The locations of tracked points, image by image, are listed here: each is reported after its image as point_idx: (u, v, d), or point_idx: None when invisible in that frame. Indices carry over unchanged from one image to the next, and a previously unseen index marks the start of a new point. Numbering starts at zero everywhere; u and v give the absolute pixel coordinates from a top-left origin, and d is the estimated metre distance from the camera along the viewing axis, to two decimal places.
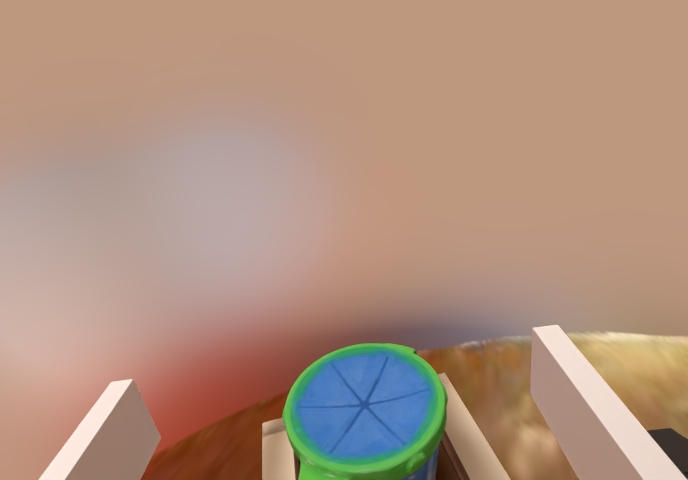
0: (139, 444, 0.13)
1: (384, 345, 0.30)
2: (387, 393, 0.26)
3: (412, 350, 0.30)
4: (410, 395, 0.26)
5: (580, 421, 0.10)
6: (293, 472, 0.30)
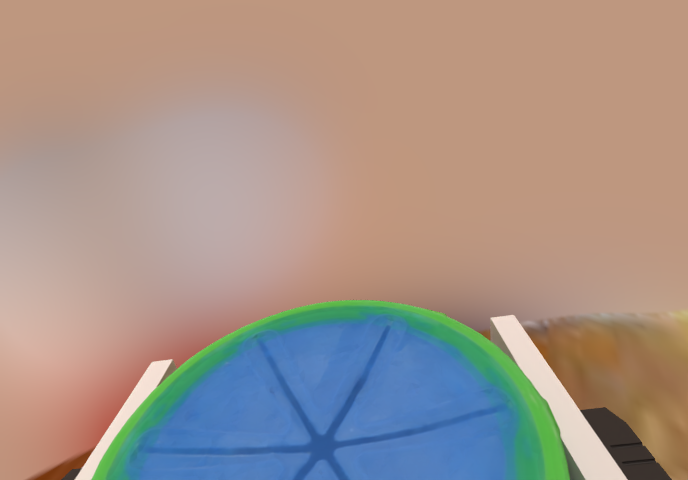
0: None
1: (381, 303, 0.13)
2: (386, 416, 0.10)
3: (443, 315, 0.13)
4: (449, 423, 0.09)
5: None
6: None
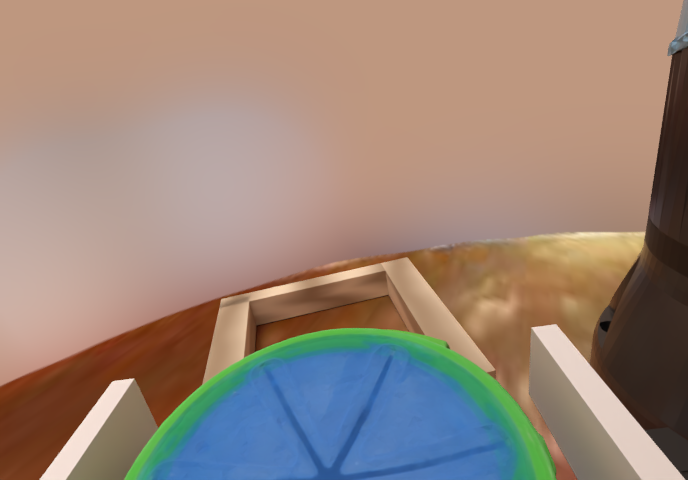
0: (140, 443, 0.13)
1: (383, 332, 0.14)
2: (389, 449, 0.10)
3: (444, 344, 0.14)
4: (451, 459, 0.10)
5: (579, 420, 0.10)
6: (245, 329, 0.30)
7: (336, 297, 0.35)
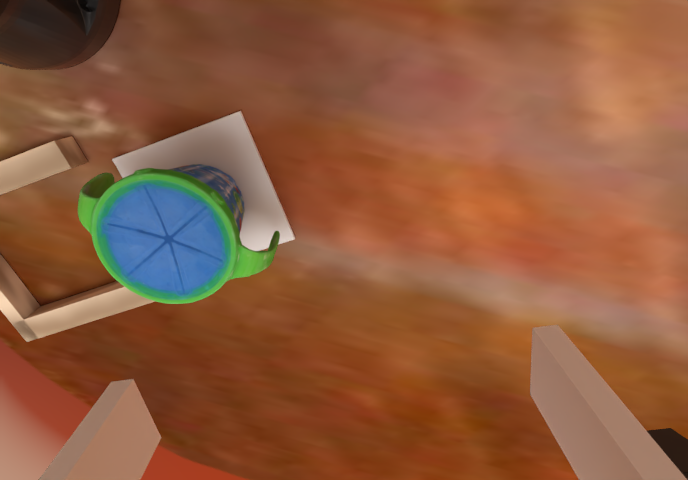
0: (139, 444, 0.13)
1: (93, 228, 0.28)
2: (153, 220, 0.29)
3: (89, 198, 0.28)
4: (152, 201, 0.28)
5: (580, 421, 0.10)
6: (57, 309, 0.40)
7: None
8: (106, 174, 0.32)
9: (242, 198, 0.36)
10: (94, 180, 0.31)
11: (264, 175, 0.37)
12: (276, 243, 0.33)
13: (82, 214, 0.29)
